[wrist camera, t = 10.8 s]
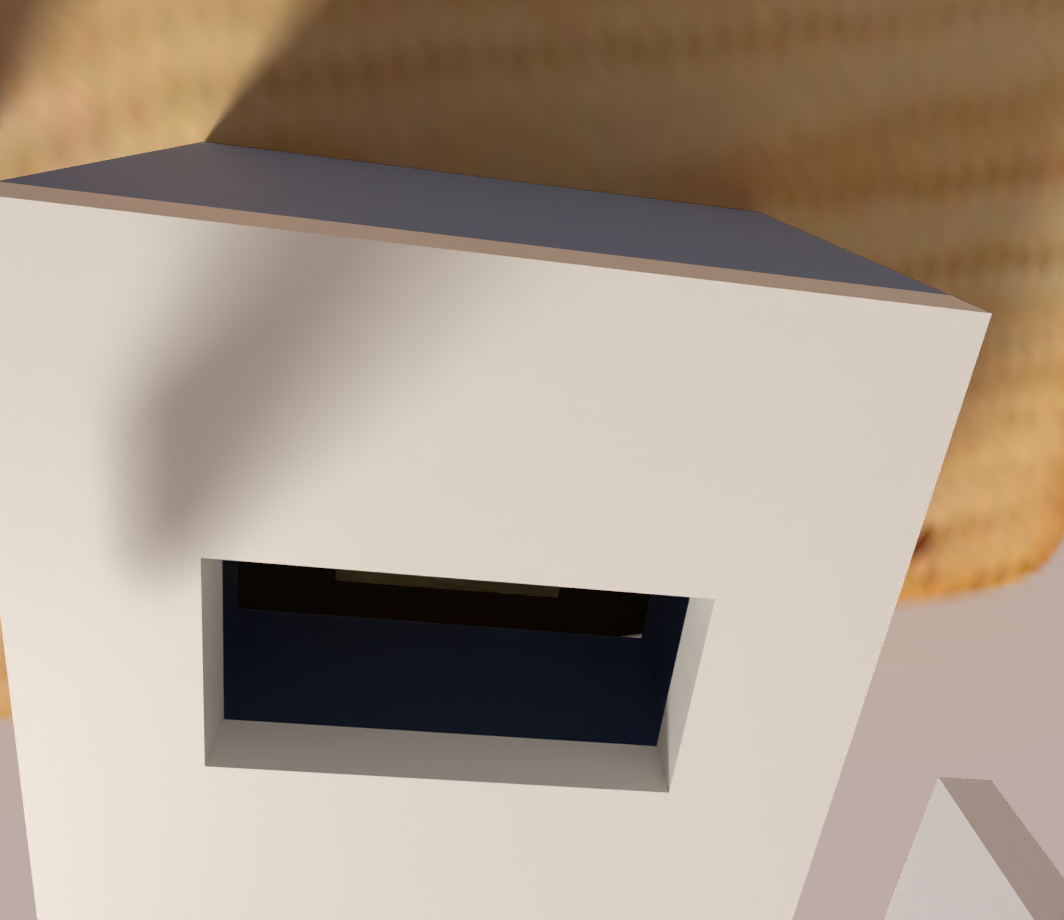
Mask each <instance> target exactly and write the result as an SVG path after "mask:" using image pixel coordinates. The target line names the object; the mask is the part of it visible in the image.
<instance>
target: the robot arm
mask: <svg viewBox="0 0 1064 920" xmlns="http://www.w3.org/2000/svg"><path fill="white" fill-rule="evenodd" d="M884 920H1064V878H1063V876H1062V875H1061V874H1060V872H1059V871H1058V870H1057V868H1056V867H1055V866H1054V864H1053V863H1052V862H1051V860H1050V859H1049V858H1048V857H1047V855H1046V854H1045V852H1044V851H1043V850H1042V848H1041V847H1040V846H1039V844H1038V843H1037V841H1035V839H1034V838H1033V836H1032V835H1031V834H1030V832H1029V831H1028V829H1027V828H1026V827H1025V825H1024V824H1023V823H1022V822H1021V820H1020V819H1019V817H1018V816H1017V815H1016V813H1015V812H1014V811H1013V809H1012V808H1011V807H1010V805H1009V804H1008V802H1007V801H1006V800H1005V798H1004V797H1003V796H1002V794H1001V793H1000V792H999V790H998V789H997V788H996V787H995V785H994V784H993V782H992V781H991V780H975V779H959V778H942V777H939V778H938V780H937V782H936V785H935V788H934V790H933V793H932V795H931V798H930V801H929V803H928V806H927V808H926V811H925V814H924V816H923V819H922V821H921V824H920V827H919V829H918V832H917V835H916V837H915V840H914V842H913V845H912V847H911V850H910V853H909V855H908V858H907V860H906V863H905V866H904V869H903V871H902V873H901V876H900V879H899V881H898V884H897V886H896V889H895V892H894V894H893V897H892V899H891V902H890V905H889V907H888V910H887V912H886V915H885V918H884Z"/></svg>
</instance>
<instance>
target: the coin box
mask: <svg viewBox="0 0 1064 920" xmlns="http://www.w3.org/2000/svg"><path fill="white" fill-rule="evenodd" d="M991 315H992V313H990V312H988V311H985V310H983V309H981V308H978V307H976V306H974V305H971V304H969V303H967V302H965V301H962V300H960V299H958V298H955V297H953V296H951V295H948V294H946V293H944V292H942V291H939V290H937V289H935V288H932V287H930V286H928V285H925V284H923V283H921V282H919V281H916V280H914V279H912V278H909V277H907V276H905V275H903V274H900V273H898V272H896V271H893V270H891V269H889V268H886V267H884V266H882V265H880V264H877V263H875V262H873V261H870V260H868V259H866V258H863V257H861V256H859V255H857V254H854V253H852V252H850V251H847V250H845V249H843V248H840V247H838V246H836V245H834V244H831V243H829V242H827V241H824V240H822V239H820V238H818V237H815V236H813V235H811V234H808V233H806V232H804V231H801V230H799V229H797V228H795V227H792V226H790V225H788V224H785V223H783V222H781V221H778V220H776V219H774V218H772V217H769V216H767V215H765V214H762V213H760V212H754V211H746V210H738V209H730V208H722V207H714V206H707V205H699V204H691V203H683V202H675V201H667V200H659V199H651V198H643V197H636V196H628V195H620V194H612V193H604V192H596V191H588V190H580V189H572V188H564V187H557V186H549V185H541V184H533V183H525V182H517V181H509V180H501V179H493V178H485V177H478V176H470V175H462V174H454V173H446V172H438V171H430V170H422V169H414V168H406V167H399V166H391V165H383V164H375V163H367V162H359V161H351V160H343V159H335V158H327V157H320V156H312V155H304V154H296V153H288V152H280V151H272V150H264V149H256V148H249V147H241V146H233V145H225V144H217V143H209V142H200V143H195V144H189V145H184V146H179V147H174V148H169V149H163V150H158V151H153V152H148V153H142V154H137V155H132V156H127V157H121V158H116V159H111V160H106V161H101V162H95V163H90V164H85V165H80V166H74V167H69V168H64V169H59V170H53V171H48V172H43V173H38V174H33V175H27V176H22V177H17V178H12V179H6V180H1V181H0V617H1V625H2V634H3V642H4V650H5V658H6V666H7V675H8V683H9V691H10V699H11V708H12V716H13V724H14V732H15V740H16V749H17V756H18V765H19V772H20V781H21V790H22V798H23V806H24V814H25V823H26V831H27V839H28V847H29V855H30V864H31V872H32V880H33V888H34V897H35V905H36V913H37V920H792V919H793V916H794V913H795V910H796V907H797V903H798V901H799V897H800V894H801V891H802V888H803V885H804V882H805V879H806V876H807V873H808V870H809V867H810V864H811V861H812V858H813V855H814V852H815V849H816V846H817V843H818V840H819V837H820V834H821V831H822V827H823V825H824V821H825V819H826V816H827V813H828V809H829V807H830V803H831V800H832V797H833V794H834V791H835V788H836V785H837V782H838V779H839V776H840V773H841V770H842V767H843V764H844V761H845V758H846V755H847V752H848V749H849V746H850V742H851V740H852V737H853V734H854V731H855V728H856V725H857V721H858V719H859V716H860V713H861V709H862V706H863V703H864V700H865V697H866V694H867V691H868V688H869V685H870V682H871V679H872V676H873V673H874V670H875V667H876V664H877V661H878V658H879V655H880V651H881V649H882V646H883V643H884V640H885V636H886V634H887V631H888V627H889V624H890V622H891V618H892V615H893V612H894V609H895V606H896V603H897V600H898V597H899V594H900V591H901V588H902V585H903V582H904V579H905V576H906V573H907V570H908V567H909V564H910V561H911V558H912V555H913V552H914V549H915V546H916V543H917V540H918V537H919V534H920V531H921V528H922V525H923V521H924V518H925V515H926V512H927V509H928V506H929V503H930V500H931V497H932V494H933V491H934V488H935V485H936V482H937V479H938V476H939V473H940V470H941V467H942V464H943V461H944V458H945V455H946V452H947V449H948V446H949V443H950V440H951V437H952V434H953V431H954V427H955V424H956V421H957V418H958V415H959V412H960V409H961V406H962V403H963V400H964V397H965V394H966V391H967V388H968V385H969V382H970V379H971V376H972V373H973V370H974V367H975V364H976V361H977V358H978V355H979V352H980V349H981V346H982V343H983V340H984V337H985V333H986V330H987V327H988V324H989V321H990V318H991ZM238 561H245V562H258V563H270V564H282V565H295V566H307V567H320V568H332V569H345V570H357V571H370V572H382V573H395V574H407V575H420V576H432V577H445V578H457V579H470V580H482V581H495V582H507V583H519V584H532V585H544V586H557V587H569V588H582V589H594V590H607V591H619V592H632V593H644V594H650V598H649V603H648V608H647V613H646V618H645V623H644V627H643V632H642V637H641V638H631V637H618V636H605V635H591V634H578V633H565V632H551V631H538V630H524V629H511V628H498V627H484V626H471V625H458V624H444V623H431V622H418V621H404V620H391V619H378V618H364V617H351V616H338V615H324V614H311V613H297V612H284V611H271V610H257V609H244V608H238Z"/></svg>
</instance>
